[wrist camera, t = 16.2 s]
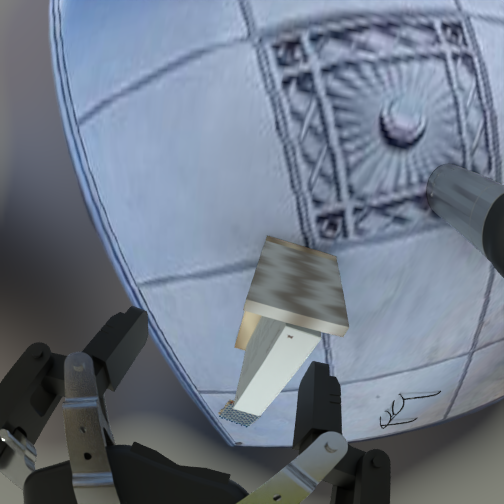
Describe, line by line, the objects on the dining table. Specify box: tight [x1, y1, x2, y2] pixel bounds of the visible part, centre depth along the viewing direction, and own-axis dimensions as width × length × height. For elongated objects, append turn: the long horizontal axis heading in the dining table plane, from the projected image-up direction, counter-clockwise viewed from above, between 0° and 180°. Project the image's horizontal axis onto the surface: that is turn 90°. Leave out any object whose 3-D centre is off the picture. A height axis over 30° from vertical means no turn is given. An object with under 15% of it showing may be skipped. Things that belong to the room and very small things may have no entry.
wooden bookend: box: [235, 236, 349, 351], centre depth 43 cm, size 12×25×18 cm, turn 166°
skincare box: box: [233, 316, 321, 416], centre depth 43 cm, size 21×5×16 cm, turn 160°
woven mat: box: [218, 400, 261, 427], centre depth 70 cm, size 10×11×2 cm
